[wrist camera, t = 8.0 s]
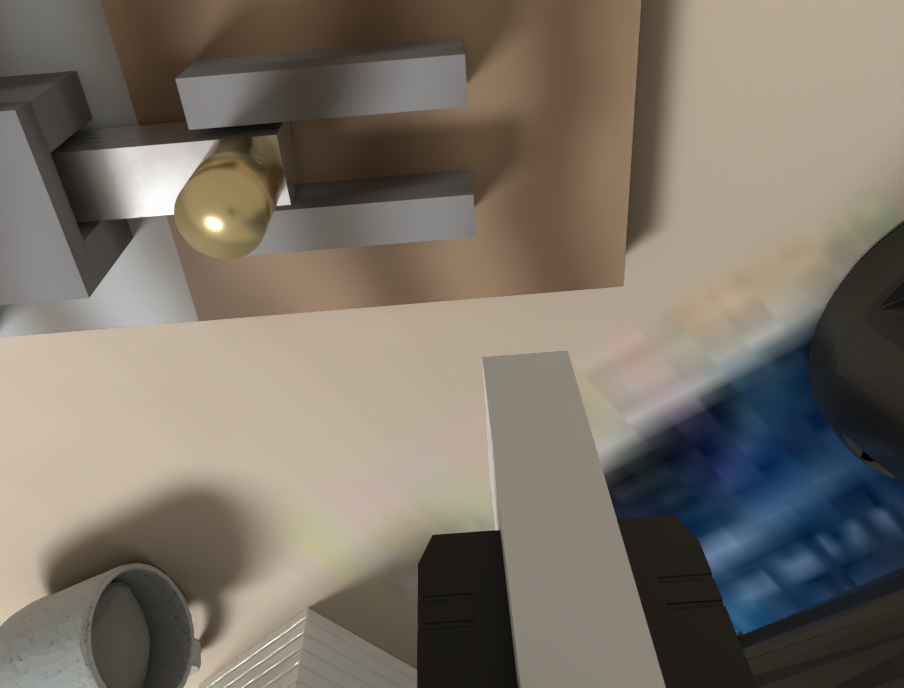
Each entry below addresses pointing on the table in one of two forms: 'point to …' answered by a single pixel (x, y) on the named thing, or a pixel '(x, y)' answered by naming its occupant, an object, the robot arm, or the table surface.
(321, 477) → the table surface
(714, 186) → the table surface
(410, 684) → the stack of papers
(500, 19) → the lock board
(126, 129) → the bolt
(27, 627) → the ceramic mug
